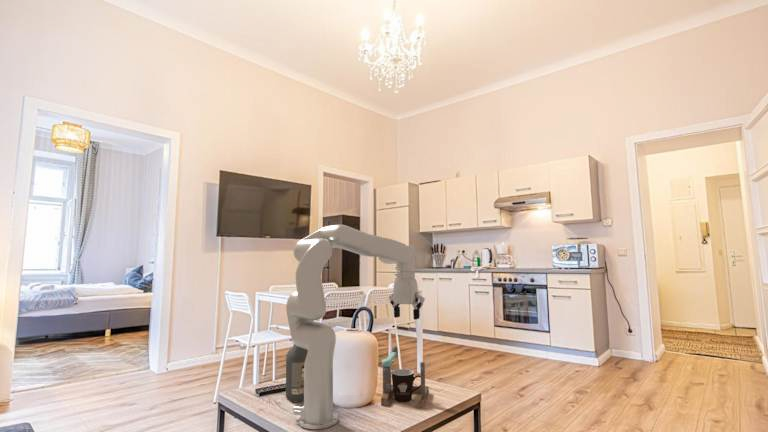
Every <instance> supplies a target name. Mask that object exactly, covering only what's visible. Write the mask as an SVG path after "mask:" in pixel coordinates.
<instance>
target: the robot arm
mask: <svg viewBox="0 0 768 432" xmlns="http://www.w3.org/2000/svg"><path fill="white" fill-rule="evenodd" d="M333 249H341V250H345V251H348V252H349V253H350V252H351V253H354V254H356V255H360V256H364V257H370V258H371V257H372V258H373V257H374V258H375V257H376V258H377V259H378V260H379V261H380V262H382V263H383V264H387V265H388V264H390V265H393V264H395V266H396V272H394V276H395V277H396V278H394V282H393V289H392V290H393V292H392V293H391V294H390V295H389V296H388V299H389V302H390V305H391V306H392V308H393V316H394V318H400V317H401V308H400V305H412V307H413V308H414V309H413V310H412V313H413V320H414V321H415V320H419V319H420V317H421V316H420V314H421V313H420V312H421V311H420V310H421V308H422V306H423V305H424V302H425V300H426V298H425V297H424V296H422V295H421V294H419V287H418V282H417V279H416V271H415V269H416V268H415V248H414V246H413V245H407V244H406V243H402V242H401V241H398V240H395V239H393V238H392V239H391V238H388V237H382V236H379V235H375V234H370V233H367V232H365V231H362V230H359V229H357V228H354V227H351V226H349V225H345V224H332V225H326V226H323V227H322V228H320V229H318V230H316V231H314V232H313V233H310V234H309V235H307V236H305V237H303V238H302V239H300V240H299V241H297V243H296V244H295V245H294V247H293V256H294V258H295V260H296V261H298V262H299V263H298V265H297V268H296V270H295V284H296V285H295V286H296V291H293V292H292V293H291V294H290V295H289V297H288V299H287V301H286V308H285V309H286V310H285V311H286V315H287V321H288V326H289V331H290V336H291V339H292V342H293V343H294V344H295V345H296V346H298V347H300V348H303V349H306V350H308V353H307V356H306V359H305V363H304V401H303V406H301V405H300V406H297V405H295V406H293V408H292V411H293V413H292V415H296V416H300V417H299V419H298V425H299V426H300V427H301V428H303V429H307V430H322V429H327V428H330V427H332V426H334V425H336V424H337V423H338V420H339V419H338V418H339V416H338V415H337V413H335V412H334V354H335V348H336V341H337V335H336V332H335V330H334V328H332V326H330V325H329V324H327V323H325V322H318V320H321V319H322V318H323V317H324V316H325V315H326V312H327V303H326V299H325V292H324V286H323V280H322V274H323V273H322V272H323V270H324V268H325V265H326V264H327V262H328V261H329V259H331V257H332V254H333Z"/></svg>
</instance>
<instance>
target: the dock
mask: <svg viewBox="0 0 768 432" xmlns="http://www.w3.org/2000/svg"><path fill="white" fill-rule="evenodd" d="M425 363H426V362H425V361H421V362H420V364H419V365H420V370H419V371H420V376H421V377H420V385H421V387H420V388H418V389H417V390H416V391H414V392H413V393H412V394H419V395H420V400H419V409H425V406H426V402H427V399H428V398H429V397H428V396H429V392H430V391H429V387H430V386H426V364H425ZM391 372H392V365H391V366H390V367H383V366H382V396H381V398H380V405H381V406H382V407H383V406H384V407H387V406H388V404H389V403H390V401H391V399H392V398H393V397H394V391H393V384H392V375H391ZM420 385H413V389H412V390H414V389H416V388H417V387H419V386H420Z"/></svg>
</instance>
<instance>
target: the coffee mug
mask: <svg viewBox="0 0 768 432" xmlns="http://www.w3.org/2000/svg"><path fill="white" fill-rule="evenodd" d="M416 378H421V374H420V375H415V371H414V370H412V369H408V368H397V369H394V370H391V384H392V385H393V391H394V394H393V397H394V402H396V403H400V404H401V403H402V404H403V403H404V404H406V403H409V402H411V401H412V397H413V394H414V393H413V392H414V391H416V390H417V389H418V388H420V387H421V384H420V385H418V386H419V387H417V388H416V389H414V390H412V389H413V386H414V382H415V380H416Z"/></svg>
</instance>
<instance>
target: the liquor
mask: <svg viewBox="0 0 768 432" xmlns="http://www.w3.org/2000/svg"><path fill="white" fill-rule="evenodd" d="M307 353H308V350H306V349H303V348H300V347H298V346H296V345H295V343H294V344H293V346H291V348H290V349H289V350H288V351H287V353H286V356H285V360H286V361H285V366H286V367H285V397H286V399H287V398H288V399H289V401H290V402H291V401H292V402H291V403H302V402H304V363H305V359H306V356H307ZM288 399H287V400H288Z"/></svg>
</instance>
